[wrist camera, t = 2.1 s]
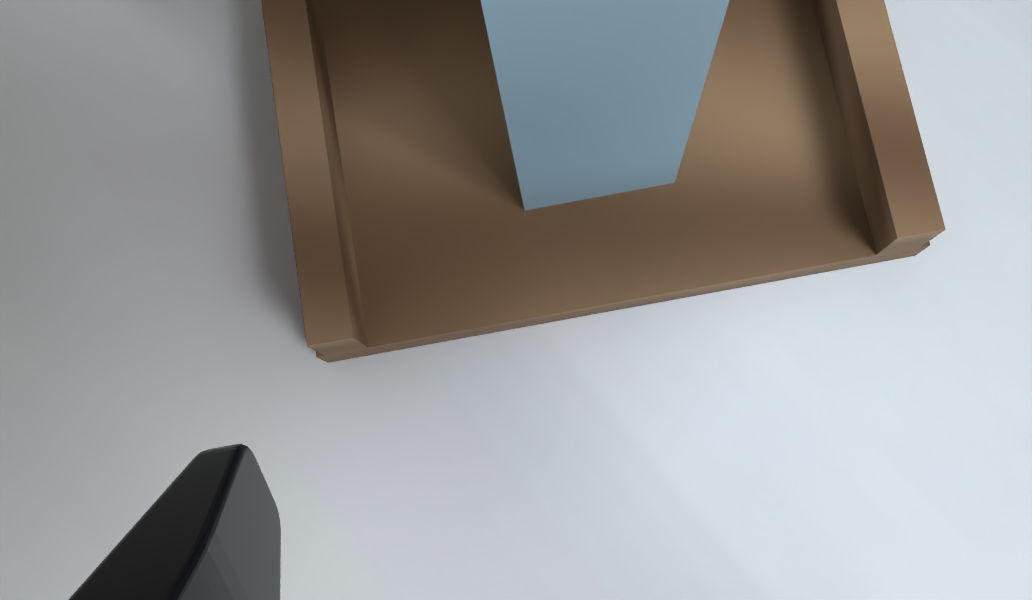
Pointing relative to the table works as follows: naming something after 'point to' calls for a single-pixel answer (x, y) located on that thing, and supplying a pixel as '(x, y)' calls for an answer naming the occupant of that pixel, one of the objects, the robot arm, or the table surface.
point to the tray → (585, 223)
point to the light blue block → (599, 90)
